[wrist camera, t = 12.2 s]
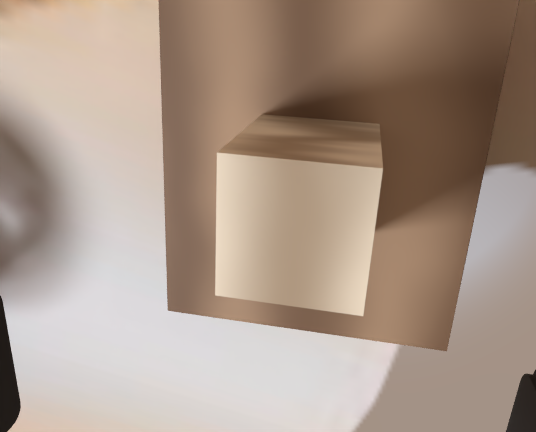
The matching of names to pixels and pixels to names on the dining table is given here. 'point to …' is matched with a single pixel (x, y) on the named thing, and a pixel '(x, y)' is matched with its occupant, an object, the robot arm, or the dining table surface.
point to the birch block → (298, 212)
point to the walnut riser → (342, 109)
